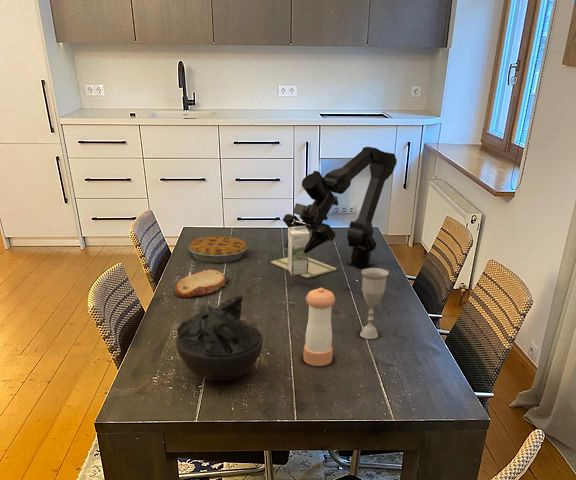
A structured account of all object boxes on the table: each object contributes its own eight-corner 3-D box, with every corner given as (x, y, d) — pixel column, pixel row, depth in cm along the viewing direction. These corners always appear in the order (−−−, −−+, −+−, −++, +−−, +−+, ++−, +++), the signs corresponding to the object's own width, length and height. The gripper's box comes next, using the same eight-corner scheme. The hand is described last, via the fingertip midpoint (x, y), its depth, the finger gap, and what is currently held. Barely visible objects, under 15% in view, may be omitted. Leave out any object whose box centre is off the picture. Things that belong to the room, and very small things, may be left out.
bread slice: (221, 274, 201) (221, 264, 199) (234, 293, 186) (234, 282, 184) (169, 279, 196) (168, 269, 194) (178, 299, 181) (177, 288, 179)
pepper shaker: (299, 363, 147) (301, 291, 137) (308, 350, 153) (311, 281, 143) (327, 368, 145) (331, 295, 135) (335, 355, 151) (340, 285, 141)
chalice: (364, 342, 158) (370, 278, 149) (351, 332, 163) (356, 270, 154) (387, 337, 161) (394, 274, 152) (372, 327, 166) (379, 266, 157)
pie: (245, 265, 210) (245, 251, 208) (184, 263, 210) (183, 250, 208) (249, 246, 229) (249, 234, 227) (193, 245, 229) (193, 232, 227)
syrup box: (304, 266, 194) (305, 224, 185) (308, 274, 189) (309, 232, 180) (287, 268, 193) (287, 226, 184) (291, 276, 188) (291, 233, 179)
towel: (299, 255, 221) (300, 253, 220) (336, 269, 207) (336, 268, 207) (270, 262, 213) (270, 261, 212) (307, 278, 200) (307, 276, 199)
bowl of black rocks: (192, 404, 129) (186, 326, 120) (170, 364, 145) (163, 293, 135) (275, 387, 136) (276, 312, 127) (246, 351, 152) (245, 282, 142)
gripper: (286, 188, 186) (261, 229, 185) (331, 198, 174) (304, 242, 173) (303, 208, 195) (279, 248, 193) (346, 220, 183) (321, 262, 182)
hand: (295, 249), depth 185 cm, fingers closed on syrup box, 8 cm apart
